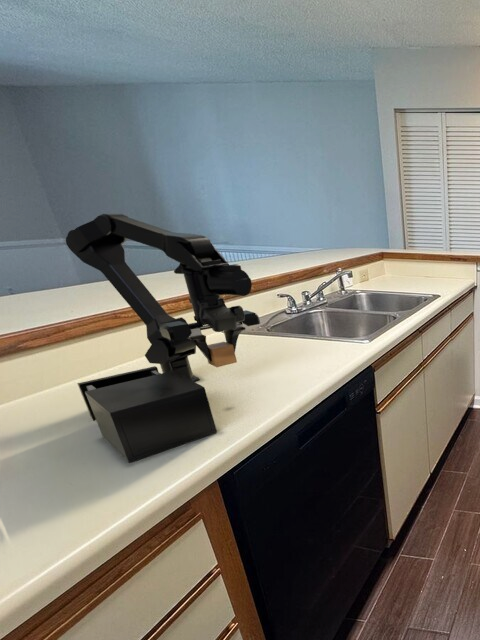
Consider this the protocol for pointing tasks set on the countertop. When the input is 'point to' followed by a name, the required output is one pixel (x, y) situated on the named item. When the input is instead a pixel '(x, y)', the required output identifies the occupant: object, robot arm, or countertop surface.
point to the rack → (113, 382)
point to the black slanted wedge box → (151, 414)
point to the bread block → (222, 354)
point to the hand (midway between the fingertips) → (221, 358)
